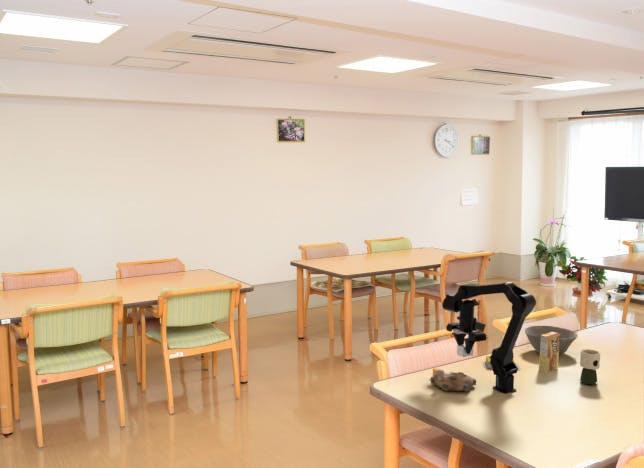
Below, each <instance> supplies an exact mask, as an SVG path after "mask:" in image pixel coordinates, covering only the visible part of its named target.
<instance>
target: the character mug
mask: <svg viewBox="0 0 644 468" xmlns="http://www.w3.org/2000/svg"><path fill="white" fill-rule="evenodd" d="M579 359H580V360H579V366H580V367H582V369H581V373H580V382H582V383H583V384H584V383H585V384H586V385H591V386H594V385H597V383H598V375H597V370H599V368H600V367H601V366H600V362H601V352H600V351H598V350H595V349H591V348H589V349H588V348H586V349H585V348H583V349H581V350H580V358H579Z"/></svg>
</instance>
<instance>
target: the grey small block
mask: <svg viewBox="0 0 644 468" xmlns="http://www.w3.org/2000/svg"><path fill="white" fill-rule="evenodd" d="M456 346H457V347H456V348H457V349H456V355H458V356H460V357H462V358H467V357H472V356H474V346H473V347H472V350H471V352H470V354H467V351H466V346H465V343H464V344H459V345H458V344H457V345H456Z"/></svg>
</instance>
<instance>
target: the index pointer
mask: <svg viewBox="0 0 644 468" xmlns="http://www.w3.org/2000/svg"><path fill="white" fill-rule="evenodd" d="M439 370H442V369H441V368H439V367H433V368H432V377H434V375H436V374H438V372H439Z"/></svg>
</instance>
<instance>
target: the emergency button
mask: <svg viewBox="0 0 644 468" xmlns="http://www.w3.org/2000/svg"><path fill="white" fill-rule="evenodd" d="M490 356H491V355H486V357H485V358H486V359H485V360H484V361H485V362H483V361H482V364H483V369H489V368H490V369H491V370H493V369H492V366H491V364H490V359H491V358H489V357H490ZM514 359H515V358H513V362H514V363H515V365H516V366H517V368H518V371H521V368H520V366H519V363H517V362H516V361H515V360H514Z"/></svg>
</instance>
